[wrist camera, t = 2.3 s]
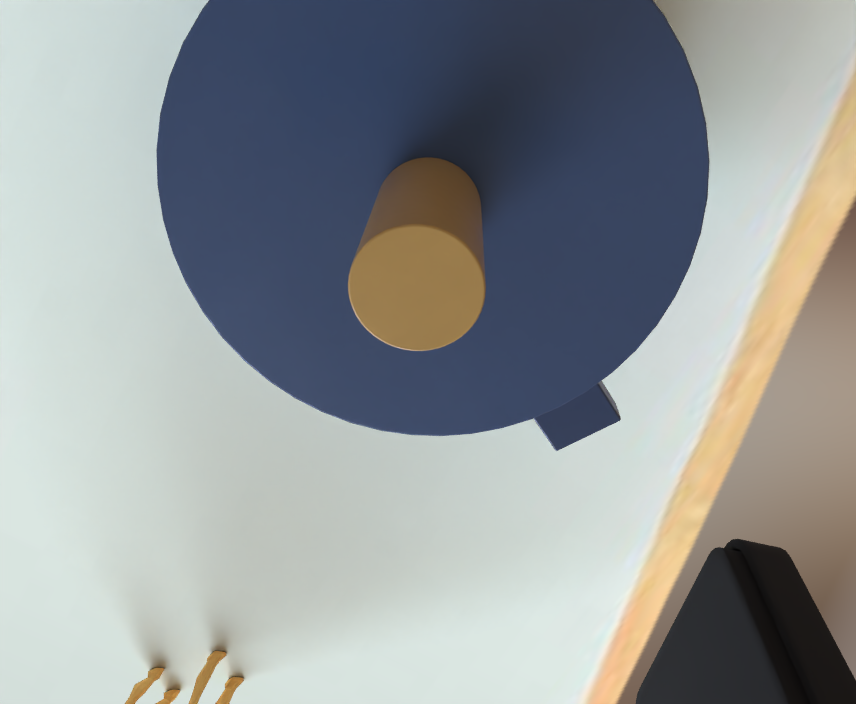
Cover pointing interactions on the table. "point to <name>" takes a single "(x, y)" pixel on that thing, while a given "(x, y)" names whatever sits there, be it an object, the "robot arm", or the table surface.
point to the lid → (433, 197)
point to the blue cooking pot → (579, 417)
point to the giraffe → (199, 685)
